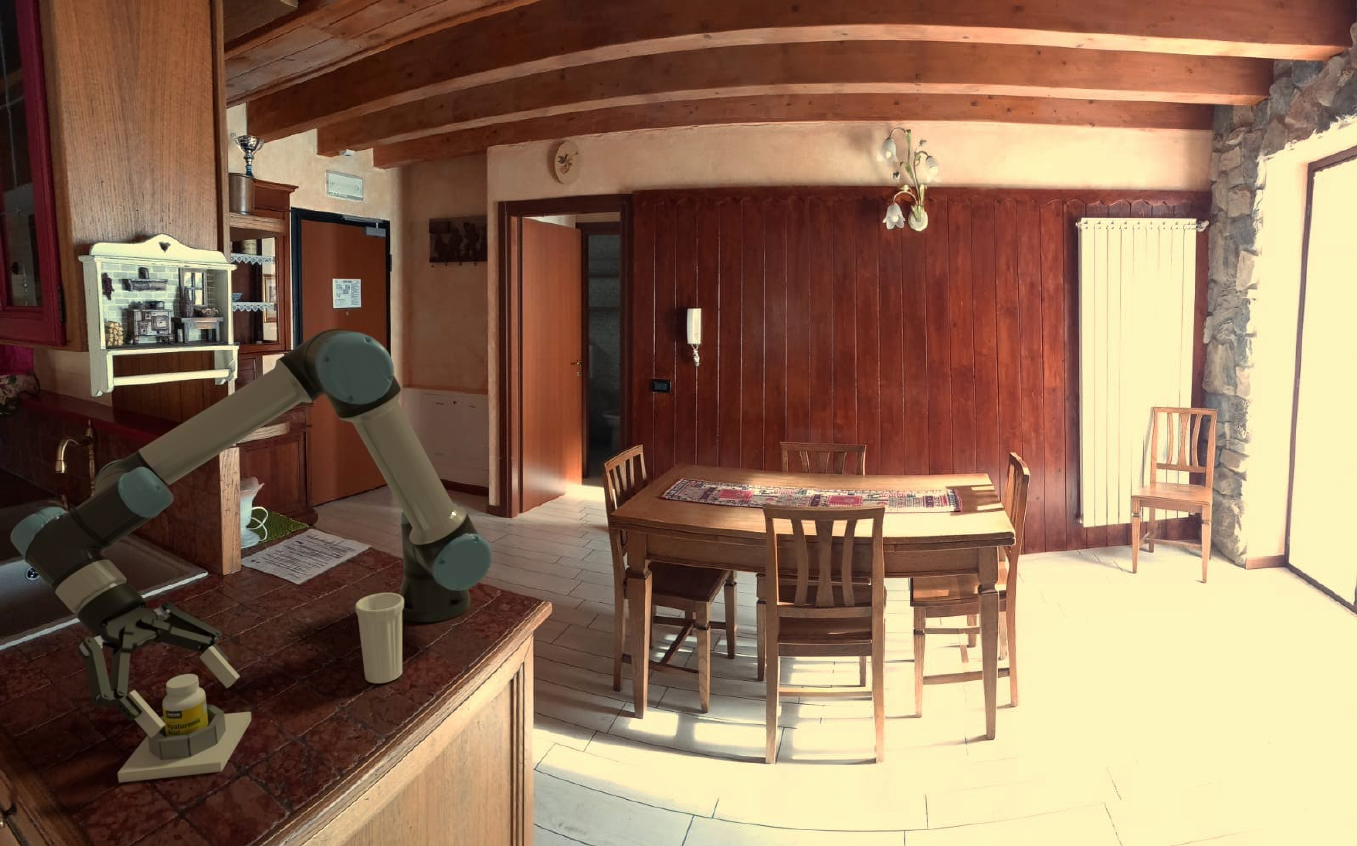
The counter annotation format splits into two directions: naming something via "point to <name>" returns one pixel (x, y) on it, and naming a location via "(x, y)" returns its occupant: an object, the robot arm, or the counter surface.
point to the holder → (187, 749)
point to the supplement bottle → (184, 706)
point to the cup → (381, 635)
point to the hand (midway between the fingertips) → (198, 705)
